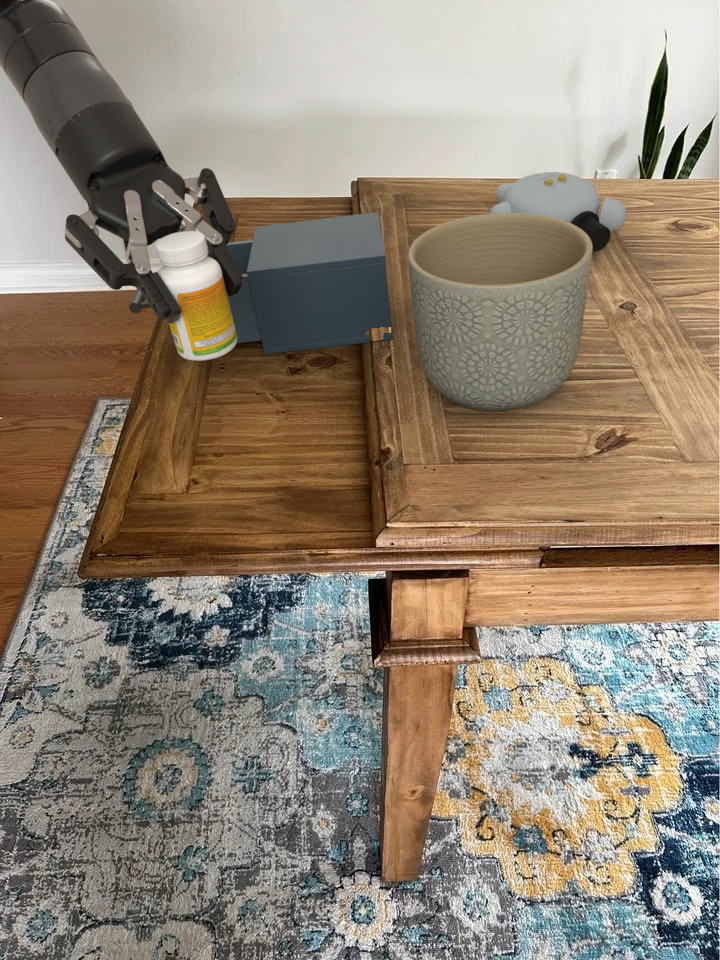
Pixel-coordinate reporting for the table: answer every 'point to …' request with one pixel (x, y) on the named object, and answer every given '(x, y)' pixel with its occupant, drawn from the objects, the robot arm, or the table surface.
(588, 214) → the figurine
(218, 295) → the supplement bottle
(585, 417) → the table surface
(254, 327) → the drawer
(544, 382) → the planter
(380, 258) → the cabinet
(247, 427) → the table surface
